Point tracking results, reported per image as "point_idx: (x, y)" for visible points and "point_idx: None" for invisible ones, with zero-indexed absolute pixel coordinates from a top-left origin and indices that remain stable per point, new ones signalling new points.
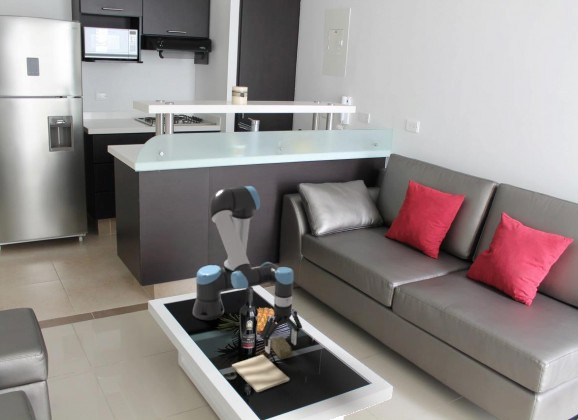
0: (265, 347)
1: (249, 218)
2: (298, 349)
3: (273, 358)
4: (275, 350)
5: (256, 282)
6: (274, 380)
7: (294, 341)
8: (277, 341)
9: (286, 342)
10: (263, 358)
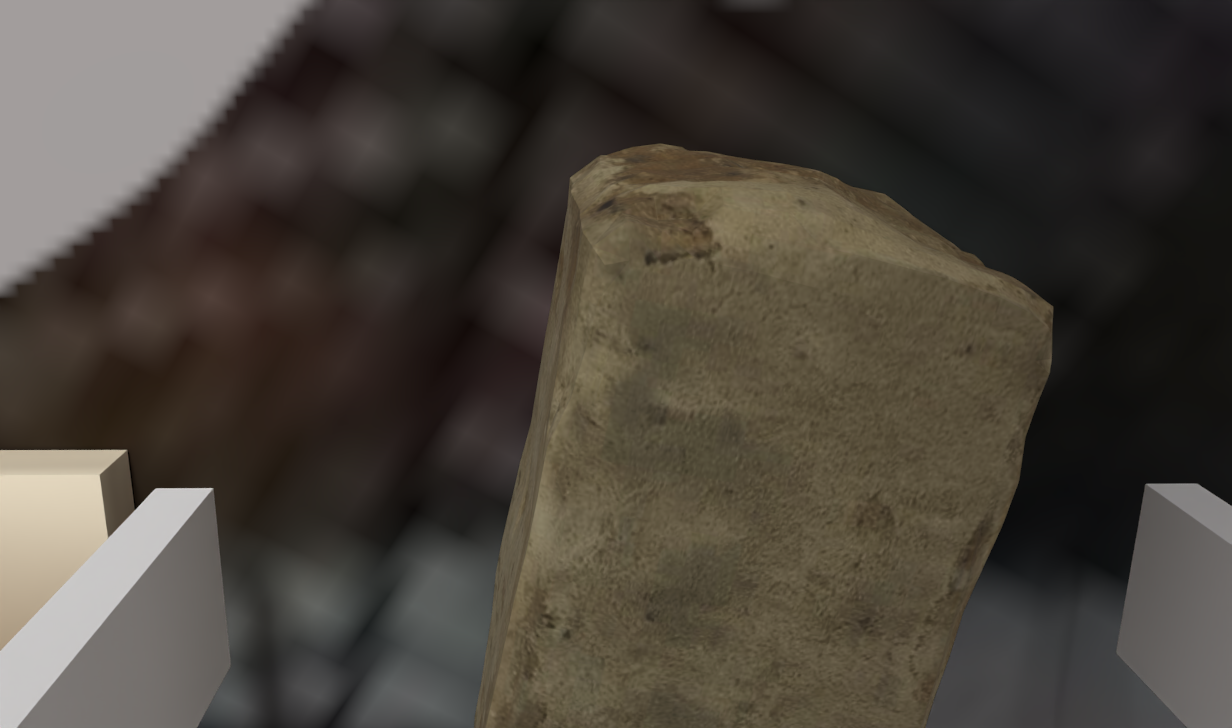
0: (104, 564)
1: None
2: None
3: (355, 641)
4: (503, 552)
5: None
6: None
7: (1187, 712)
8: (657, 546)
9: (904, 708)
10: None
